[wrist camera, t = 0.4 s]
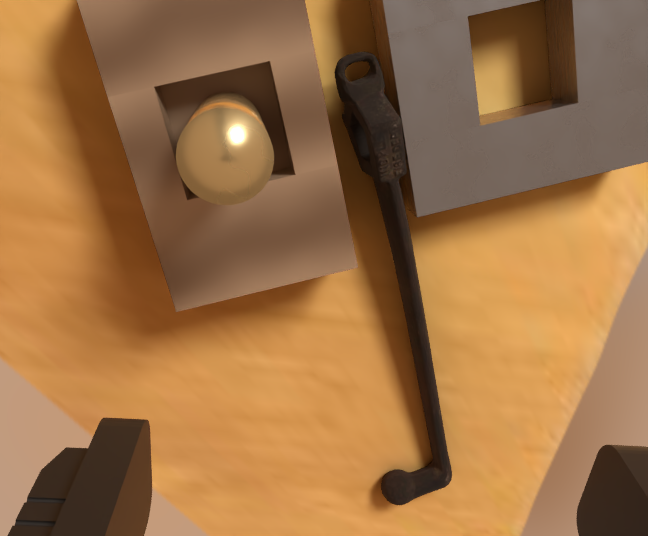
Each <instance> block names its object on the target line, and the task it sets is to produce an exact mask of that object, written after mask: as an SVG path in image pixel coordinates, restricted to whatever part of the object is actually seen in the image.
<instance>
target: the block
mask: <svg viewBox="0 0 648 536" xmlns="http://www.w3.org/2000/svg"><path fill="white" fill-rule="evenodd" d="M534 1H538V0H370V6H371V12H372V18H373V24H374V30H375V36H376V42H377V48H378V54H379V60H380V66H381V71H382V75H383V79H384V83H385V87H384V91H385V96H386V97H387V99H388V100H389V102H390V104H391V105H392V107H393V108H394V110H395V111H396V113H397V114H398V115H399V117H400V118H401V122H402V132H403V140H404V149H405V160H406V169H407V170H406V174H405V175H404V176H402V177H400V179H399V181H400V187H401V193H402V197H403V202H404V206H405V207H406V208H407V209H409V210H410V211H411V212H412V213H413V214H414V215H415V216H416V217H421V216H425V215H429V214H433V213H437V212H441V211H446V210H450V209H454V208H458V207H462V206H466V205H470V204H474V203H479V202H483V201H487V200H491V199H495V198H499V197H503V196H508V195H512V194H516V193H520V192H524V191H528V190H532V189H537V188H541V187H545V186H549V185H553V184H557V183H561V182H566V181H570V180H574V179H578V178H582V177H586V176H590V175H595V174H599V173H603V172H607V171H611V170H615V169H619V168H624V167H628V166H632V165H636V164H640V163H644V162H648V0H545V12H546V26H547V39H548V53H549V66H550V80H551V93H552V99H550V100H546V101H541V102H537V103H533V104H529V105H524V106H520V107H516V108H511V109H507V110H503V111H499V112H494V113H490V114H486V115H481V116H479V110H478V101H477V93H476V84H475V75H474V67H473V58H472V49H471V41H470V32H469V23H468V16H471V15H476V14H480V13H485V12H489V11H493V10H498V9H502V8H507V7H511V6H516V5H520V4H525V3H529V2H534Z"/></svg>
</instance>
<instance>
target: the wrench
mask: <svg viewBox="0 0 648 536" xmlns="http://www.w3.org/2000/svg"><path fill="white" fill-rule="evenodd" d="M358 61H367V62H368V63H369V66H370V68H369V71H368V73H367V74H366V75H365V76H364V77H362V78H361V79H358V80H355V81H352V82H349V81H348V80H347V78H346V76H345V69H346V67H347V66H348V65H350V64H351V63H354V62H358ZM335 79H336V85H337V89H338V93H339V96H340V98H341V100H342V101H343V102H344V103H345V105H344V112H343V114H342V118H343V121H344V123H345V126H346V128H347V130H348V133H349V136H350V139H351V142H352V144H353V147H354V149H355V152H356V155H357V158H358V161H359V164H360V167H361V169H362V171H363V172H365V173H366V174H368V175H369V176H371V177H372V178H373V179H374V183H375V186H376V190H377V194H378V198H379V202H380V206H381V210H382V214H383V218H384V222H385V226H386V231H387V235H388V239H389V243H390V247H391V252H392V256H393V260H394V265H395V269H396V274H397V278H398V283H399V288H400V292H401V297H402V301H403V306H404V311H405V316H406V321H407V326H408V331H409V337H410V342H411V347H412V352H413V357H414V362H415V367H416V372H417V378H418V383H419V388H420V393H421V398H422V403H423V408H424V413H425V418H426V424H427V429H428V434H429V439H430V444H431V449H432V455H433V460H432V462H431V464H430V465H428V466H426V467H424V468H422V469H419V470H417V471H414V472H411V473H407V472H405V471H403V470H393V471H390V472H388V473H387V474H386V475H385V476H384V477H383V480H382V483H381V490H382V494H383V495H384V497H385V498H386V499H387V500H388V501H389V502H390V503H392V504H395V505H403V504H406V503H408V502H410V501H411V500H413V499H415V498H417V497H419V496H422V495H424V494H427V493H430V492H433V491H435V490H438V489H441V488H444V487H446V486H447V485H448V484H449V483H450V481H451V478H452V471H451V465H450V461H449V456H448V452H447V446H446V440H445V434H444V428H443V422H442V416H441V410H440V404H439V398H438V392H437V386H436V380H435V374H434V368H433V362H432V356H431V349H430V343H429V337H428V331H427V326H426V320H425V314H424V308H423V303H422V297H421V291H420V286H419V280H418V274H417V269H416V263H415V257H414V252H413V245H412V240H411V235H410V230H409V225H408V220H407V216H406V211H405V206H404V202H403V197H402V193H401V189H400V185H399V179H400V177H402V176H404V175H405V174H406V170H407V169H406V160H405V149H404V140H403V132H402V122H401V118H400V117H399V115H398V114H397V113H396V111H395V110H394V108H393V107H392V105H391V104H390V102H389V100H388V99H387V97H386V96H385V94H384V87H385V83H384V79H383V75H382V71H381V68H380V65H379V62H378V60H377V58H376V57H375V56H374V55H373V54H371V53H368V52H358V53H354V54H350V55H346V56H345V57H343V58H341V59H340V60H339V61H338V63H337V66H336V69H335Z"/></svg>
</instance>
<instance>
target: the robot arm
mask: <svg viewBox="0 0 648 536" xmlns="http://www.w3.org/2000/svg"><path fill="white" fill-rule="evenodd" d="M151 497H152V470H151V444H150V425H149V421H148V420H141V419H122V418H103V419H102V420H101V421H100V423H99V425H98V427H97V430H96V432H95V434H94V436H93V439H92V441H91V443H90V446H89V448H88V449H87V448H65V449H64V450H63V451H62V452H61V453H60V454H59V455H57V456H56V457H55V458H54V459H53V460H52V461H51V462H50V463H48V464H47V465H46V466H45V467H44V468H43V469H42V470H41V472H40V474H39V476H38V477H37V479H36V481H35V483H34V486H33V487H32V489H31V491H30V493H29V495H28V498H27V502H26V503H24V505H23V507H22V509H21V511H20V513H19V514H18V517H17V519H16V523H15V526H12V528H11V530H10V532H9V534H8V536H144V534H145V530H146V527H147V523H148V517H149V512H150V506H151ZM577 527H578V533H579V536H648V447H642V446H622V445H605V446H603V447H602V448H601V449H600V450H599V452H598V454H597V457H596V459H595V462H594V465H593V467H592V470H591V473H590V475H589V478H588V481H587V483H586V486H585V489H584V492H583V494H582V497H581V500H580V502H579V505H578V509H577Z"/></svg>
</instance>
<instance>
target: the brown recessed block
mask: <svg viewBox="0 0 648 536" xmlns="http://www.w3.org/2000/svg"><path fill="white" fill-rule="evenodd" d="M77 3H78V6H79V9H80V12H81V16H82V19H83V22H84V25H85V28H86V31H87V34H88V37H89V41H90V44H91V47H92V50H93V53H94V56H95V59H96V62H97V66H98V69H99V72H100V75H101V78H102V81H103V84H104V87H105V91H106V94H107V97H108V100H109V103H110V106H111V109H112V112H113V116H114V119H115V122H116V125H117V128H118V131H119V134H120V137H121V141H122V144H123V147H124V150H125V153H126V156H127V159H128V162H129V166H130V169H131V172H132V175H133V178H134V181H135V184H136V187H137V191H138V194H139V197H140V200H141V203H142V206H143V209H144V212H145V216H146V219H147V222H148V225H149V228H150V231H151V234H152V237H153V241H154V244H155V247H156V250H157V253H158V256H159V259H160V262H161V266H162V269H163V272H164V275H165V278H166V281H167V284H168V287H169V291H170V294H171V297H172V300H173V303H174V306H175V309H176V312H178V311H183V310H187V309H191V308H195V307H199V306H203V305H207V304H211V303H215V302H219V301H223V300H227V299H232V298H236V297H240V296H244V295H248V294H252V293H256V292H260V291H264V290H268V289H272V288H276V287H281V286H285V285H289V284H293V283H297V282H301V281H305V280H309V279H313V278H317V277H321V276H325V275H330V274H334V273H338V272H342V271H346V270H350V269H354V268H358V264H357V259H356V254H355V249H354V244H353V239H352V234H351V229H350V224H349V219H348V214H347V209H346V204H345V199H344V194H343V189H342V184H341V179H340V174H339V169H338V164H337V159H336V154H335V149H334V144H333V139H332V134H331V129H330V124H329V119H328V114H327V109H326V104H325V99H324V94H323V89H322V84H321V79H320V74H319V69H318V64H317V59H316V54H315V49H314V44H313V39H312V34H311V29H310V24H309V19H308V14H307V9H306V4H305V0H77ZM219 92H234V93H238V94H240V95H242V96H244V97H246V98H247V99H248V100H250V101H251V102H252V103H253V104H254V106H255V107H256V108H257V110H258V112H259V114H260V116H261V119H262V121H263V123H264V126H265V128H266V130H267V133H268V135H269V137H270V140H271V143H272V146H273V151H274V166H273V170H272V173H271V176H270V178H269V180H268V182H267V184H266V185H265V187H264V188H263V189H262V190H261V191H260V192H259V193H258V194H257V195H256V196H254V197H253V198H251V199H249V200H247V201H245V202H243V203H239V204H235V205H218V204H213V203H210V202H207V201H205V200H203V199H201V198H200V197H198V196H197V195H195V194H194V193H193V192H192V191H191V190H190V189H189V188H188V187H187V186H186V184H185V183H184V181H183V180H182V178H181V176H180V173H179V171H178V167H177V163H176V148H177V143H178V140H179V137H180V135H181V133H182V131H183V129H184V128H185V126H186V125H187V123H188V122H189V120H190V119H191V117H192V116H193V114H194V112H195V111H196V109H197V108H198V106H199V105H200V104H201V103H202V101H204V100H205V99H206V98H207V97H209V96H211V95H213V94H215V93H219Z"/></svg>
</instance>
